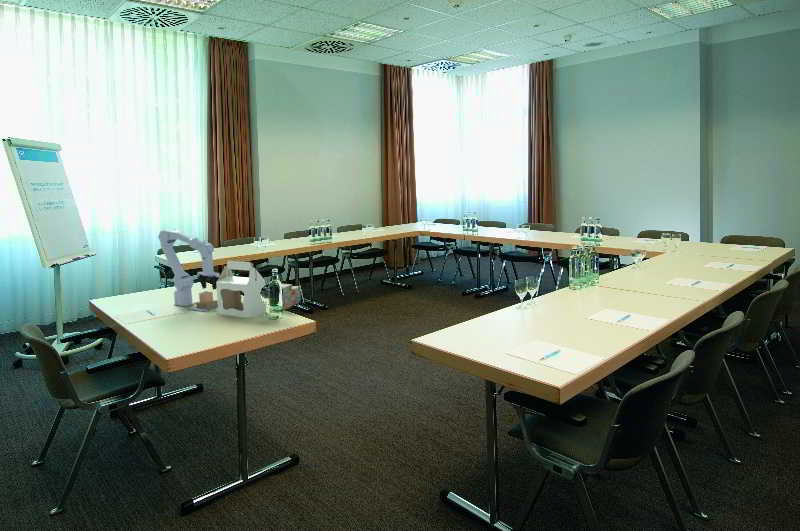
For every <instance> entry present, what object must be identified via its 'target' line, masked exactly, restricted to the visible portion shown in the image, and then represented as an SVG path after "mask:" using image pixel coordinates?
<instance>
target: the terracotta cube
mask: <svg viewBox="0 0 800 531" xmlns="http://www.w3.org/2000/svg"><path fill="white" fill-rule="evenodd" d="M198 296H199V298H198V299H199V301H200V302H206V303H207V302H210V301H213V300H214V294H213V291H202V292H199V293H198Z"/></svg>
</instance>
